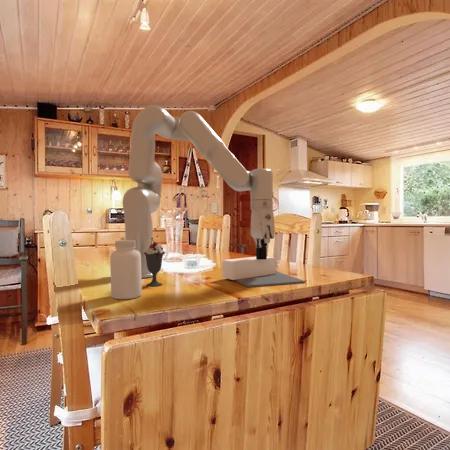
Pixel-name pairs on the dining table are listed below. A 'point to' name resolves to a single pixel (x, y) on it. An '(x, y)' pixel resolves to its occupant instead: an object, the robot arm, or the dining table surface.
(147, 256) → the sundae
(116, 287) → the pill bottle
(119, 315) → the dining table surface
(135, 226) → the robot arm
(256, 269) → the milk
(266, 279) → the slate mat
